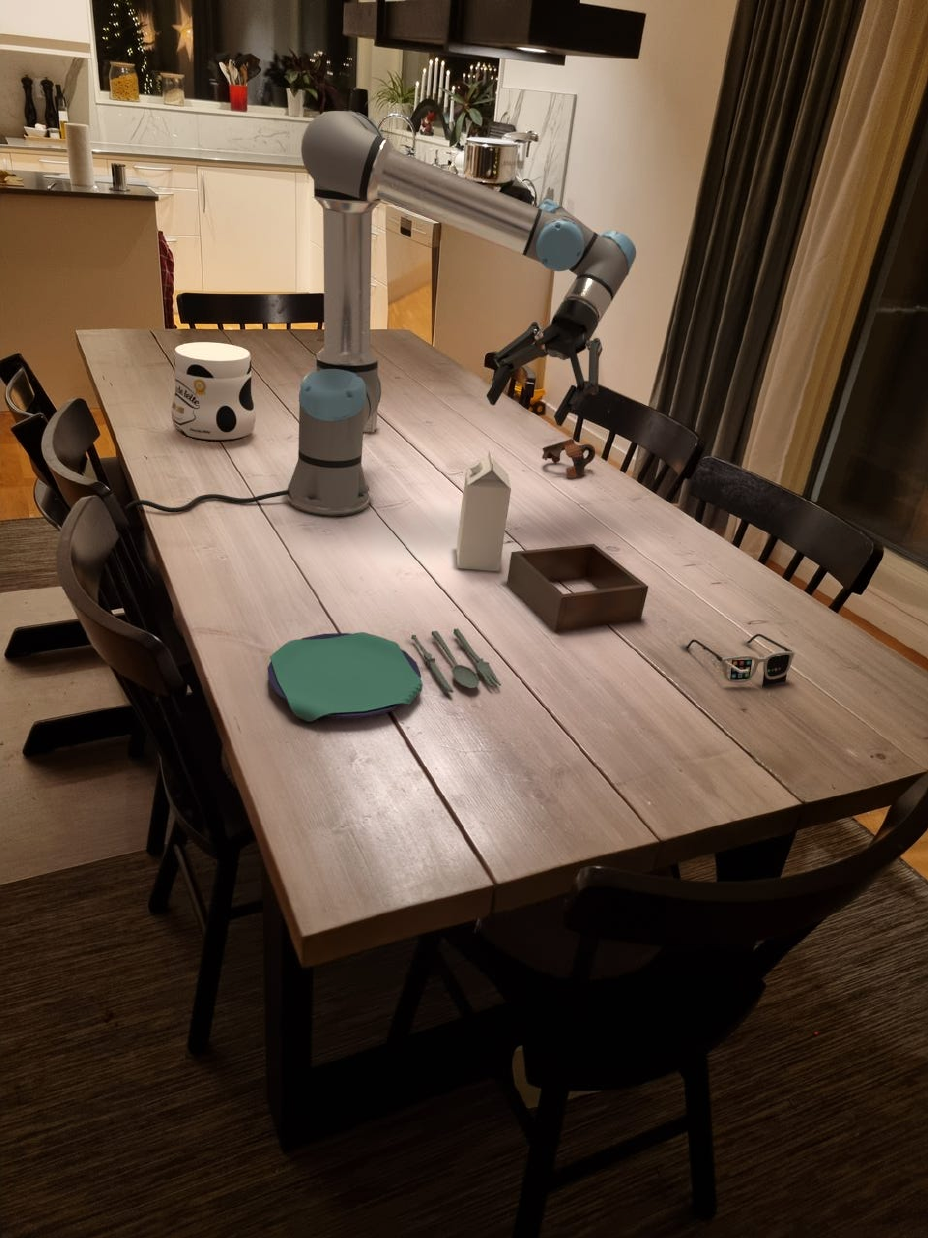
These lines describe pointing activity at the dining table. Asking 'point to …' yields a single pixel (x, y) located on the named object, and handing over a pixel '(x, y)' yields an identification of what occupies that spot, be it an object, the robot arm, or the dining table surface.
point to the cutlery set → (358, 674)
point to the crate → (576, 610)
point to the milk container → (213, 392)
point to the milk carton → (483, 515)
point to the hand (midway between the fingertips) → (523, 410)
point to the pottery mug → (570, 455)
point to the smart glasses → (756, 664)
